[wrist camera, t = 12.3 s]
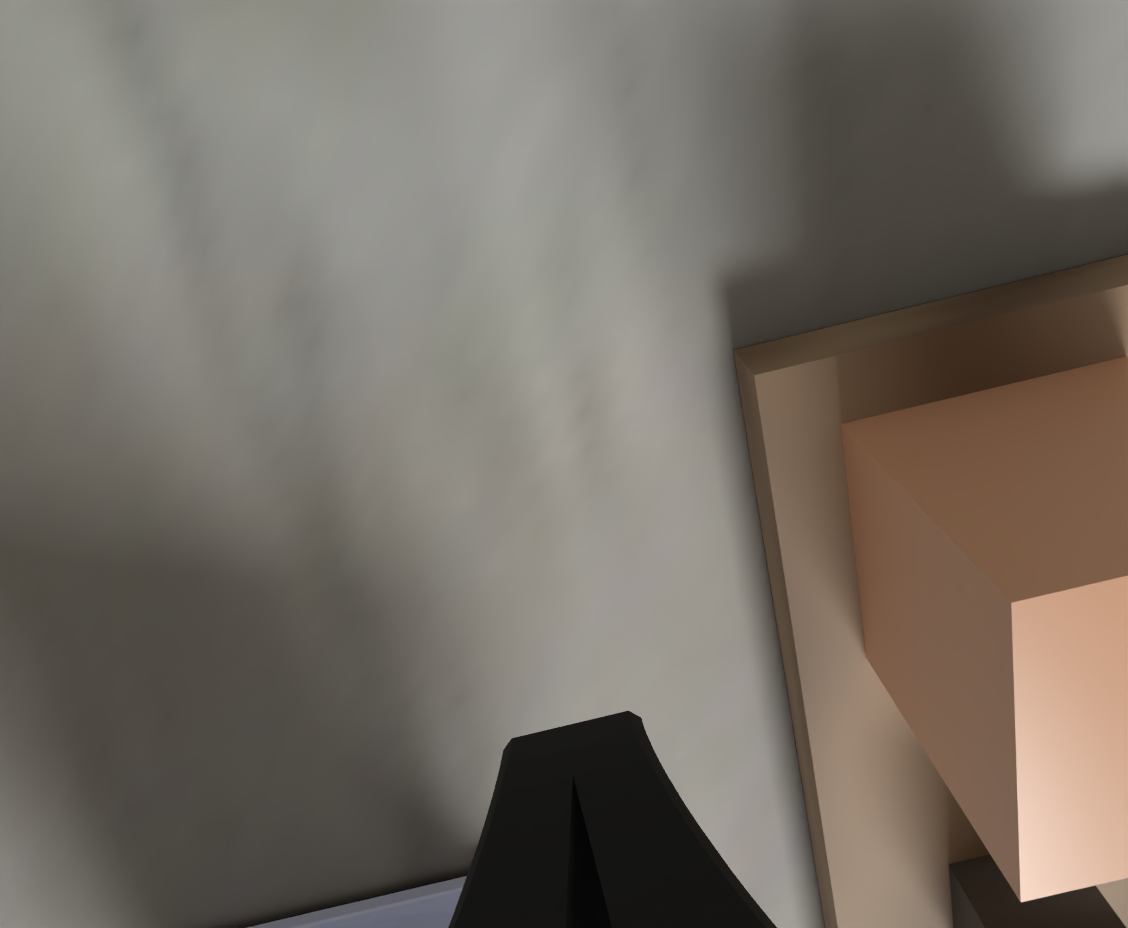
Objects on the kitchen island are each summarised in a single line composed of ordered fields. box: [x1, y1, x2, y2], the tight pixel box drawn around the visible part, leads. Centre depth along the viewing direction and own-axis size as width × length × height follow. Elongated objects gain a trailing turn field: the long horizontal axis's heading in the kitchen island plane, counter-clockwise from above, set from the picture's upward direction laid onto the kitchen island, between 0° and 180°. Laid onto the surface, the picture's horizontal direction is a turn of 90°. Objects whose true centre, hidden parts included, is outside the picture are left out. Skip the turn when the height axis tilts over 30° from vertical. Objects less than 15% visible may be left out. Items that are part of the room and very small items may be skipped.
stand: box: [733, 254, 1128, 928], centre depth 19 cm, size 8×18×6 cm, turn 13°
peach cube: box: [841, 357, 1128, 902], centre depth 15 cm, size 5×5×6 cm
